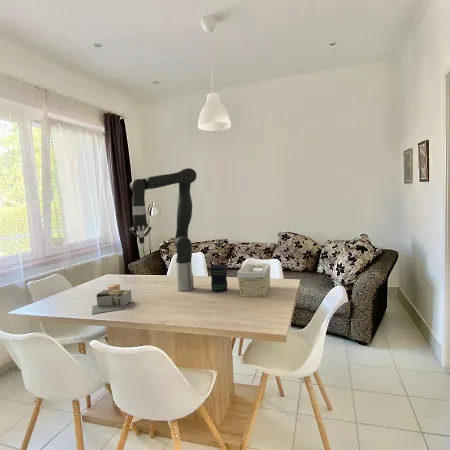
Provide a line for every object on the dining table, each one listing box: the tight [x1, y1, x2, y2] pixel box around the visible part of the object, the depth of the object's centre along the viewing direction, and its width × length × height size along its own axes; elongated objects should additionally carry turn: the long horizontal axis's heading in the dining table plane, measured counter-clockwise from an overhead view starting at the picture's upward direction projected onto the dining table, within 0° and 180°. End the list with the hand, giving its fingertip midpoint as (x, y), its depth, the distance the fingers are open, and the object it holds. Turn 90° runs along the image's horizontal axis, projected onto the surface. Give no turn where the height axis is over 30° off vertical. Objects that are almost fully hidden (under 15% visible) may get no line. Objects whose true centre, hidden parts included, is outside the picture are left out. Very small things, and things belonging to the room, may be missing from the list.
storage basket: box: [237, 262, 271, 298], centre depth 192 cm, size 24×16×15 cm
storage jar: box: [210, 264, 228, 293], centre depth 199 cm, size 10×10×15 cm
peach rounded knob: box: [107, 283, 121, 290], centre depth 195 cm, size 7×7×7 cm
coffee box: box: [96, 289, 133, 306], centre depth 181 cm, size 9×6×16 cm
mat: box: [91, 304, 126, 315], centre depth 175 cm, size 16×14×1 cm
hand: (141, 243), depth 190 cm, fingers closed
